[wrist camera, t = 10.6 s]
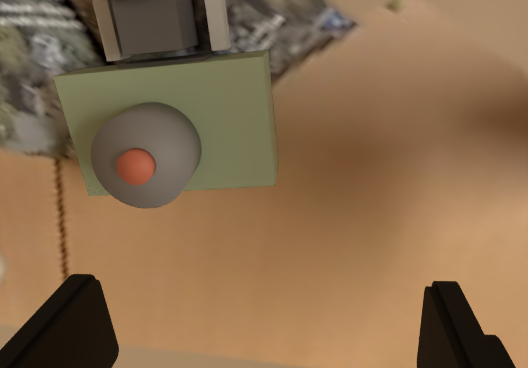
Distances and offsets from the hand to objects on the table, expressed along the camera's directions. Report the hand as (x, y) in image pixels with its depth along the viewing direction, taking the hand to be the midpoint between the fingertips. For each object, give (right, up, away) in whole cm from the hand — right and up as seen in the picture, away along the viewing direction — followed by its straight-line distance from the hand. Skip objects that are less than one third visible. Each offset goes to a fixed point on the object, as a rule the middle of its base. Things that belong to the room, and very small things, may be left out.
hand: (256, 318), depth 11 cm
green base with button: (-7, +12, +23) cm, 27 cm away
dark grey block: (-8, +18, +21) cm, 28 cm away
